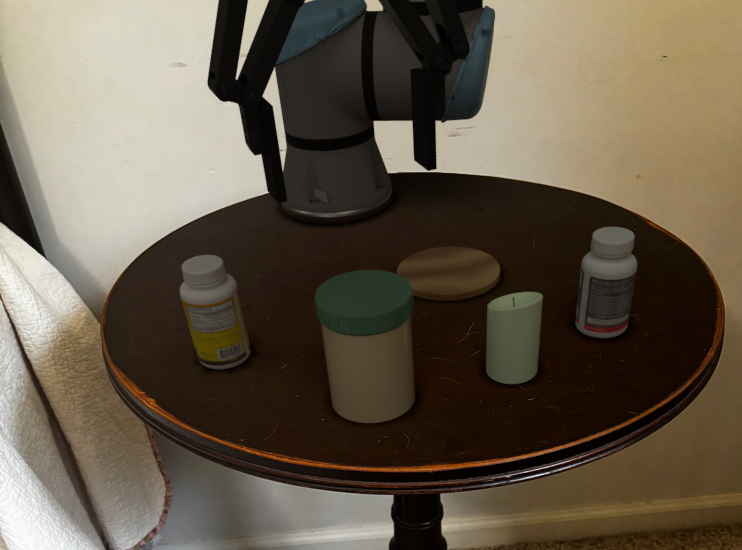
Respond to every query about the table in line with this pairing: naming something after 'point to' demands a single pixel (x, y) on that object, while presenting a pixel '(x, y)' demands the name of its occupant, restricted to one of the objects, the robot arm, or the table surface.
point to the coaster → (450, 273)
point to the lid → (364, 302)
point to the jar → (371, 373)
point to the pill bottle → (606, 283)
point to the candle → (513, 337)
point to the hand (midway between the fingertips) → (353, 180)
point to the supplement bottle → (214, 313)
